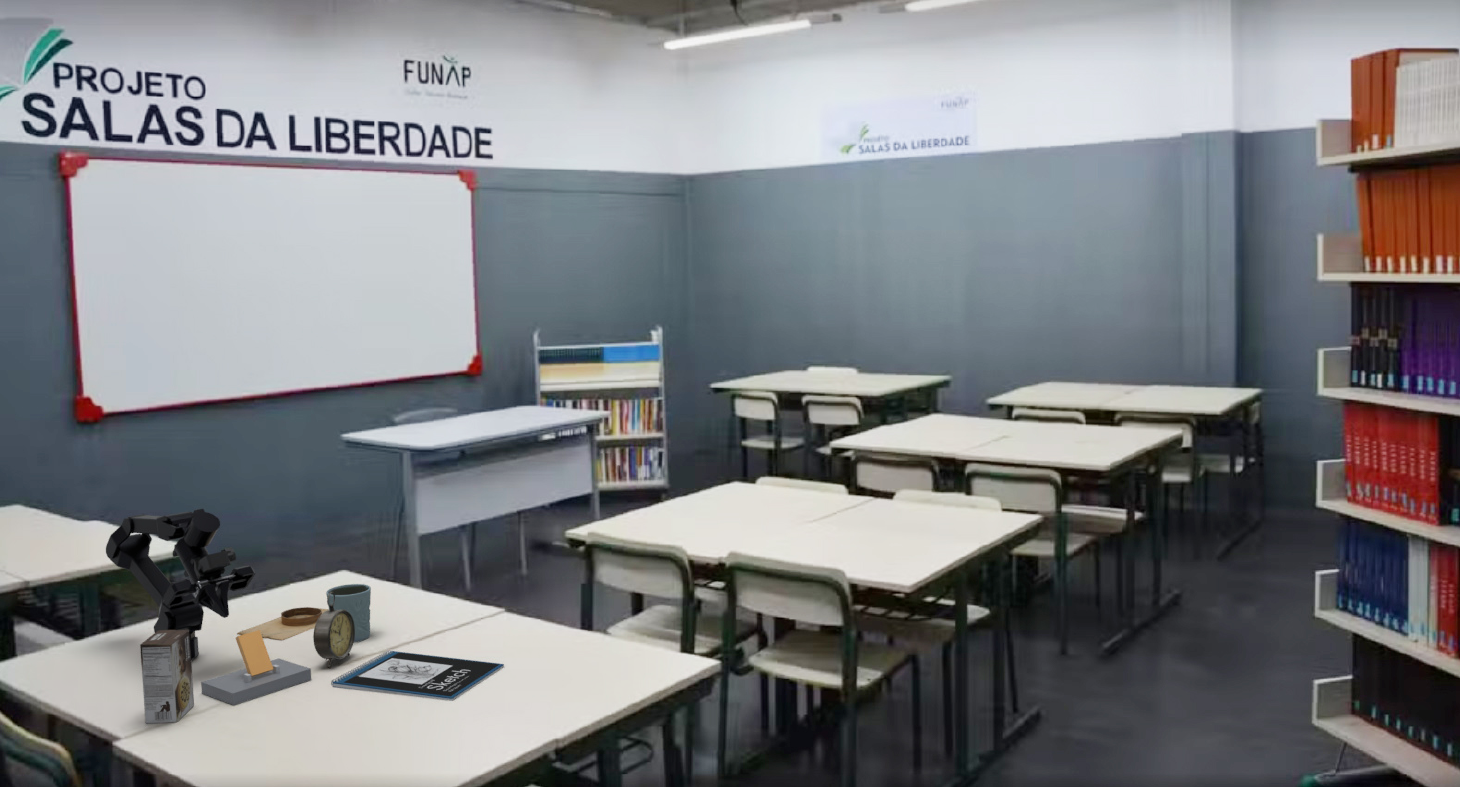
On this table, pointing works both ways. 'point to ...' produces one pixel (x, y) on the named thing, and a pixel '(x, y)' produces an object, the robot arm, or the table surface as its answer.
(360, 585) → the blue-grey cylinder
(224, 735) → the table surface
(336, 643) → the alarm clock
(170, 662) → the coffee box
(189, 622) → the robot arm
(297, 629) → the board
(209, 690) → the switch panel
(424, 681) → the sketchbook
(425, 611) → the table surface
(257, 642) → the orange foam slab
